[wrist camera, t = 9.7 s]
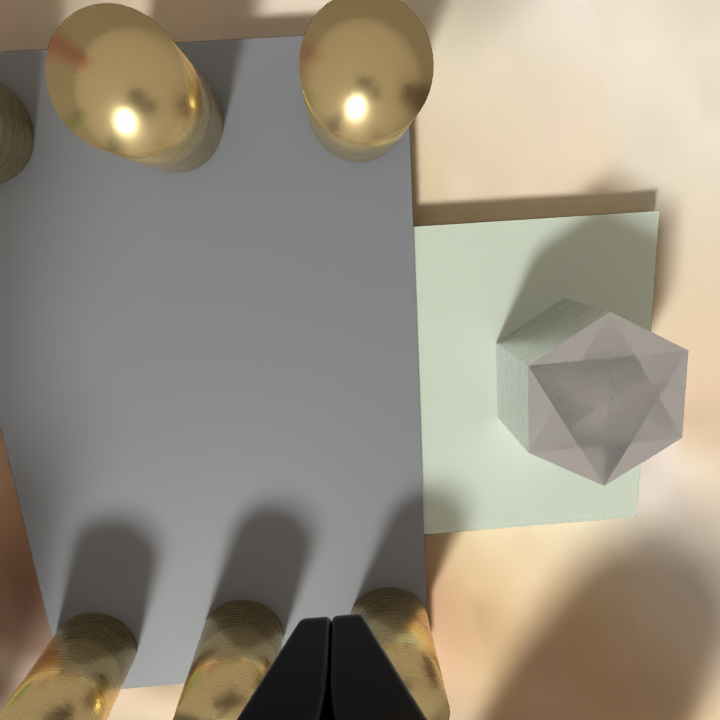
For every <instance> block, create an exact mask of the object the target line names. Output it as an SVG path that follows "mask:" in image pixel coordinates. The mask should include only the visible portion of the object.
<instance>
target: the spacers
mask: <svg viewBox="0 0 720 720" xmlns="http://www.w3.org/2000/svg"><path fill="white" fill-rule="evenodd" d="M299 75H300V81H301V86H302V90H303V95H304V99H305V103H306V108H307V112H308V117H309V121H310V124H311V127H312V130H313V132H314V134H315V136H316V138H317V139H318V141H319V142H320V143H321V144H322V146H323V147H324V148H325V149H326V150H328V151H329V152H330V153H331V154H333V155H335V156H336V157H338V158H341V159H343V160H347V161H351V162H367V161H371V160H374V159H377V158H379V157H381V156H383V155H384V154H386V153H387V152H389V151H390V150H391V149H392V148H393V147H394V146H395V145H396V143H397V142H398V141H399V139H400V138H401V137H402V135H403V134H404V132H405V131H406V130H407V128H408V127H409V125H410V124H411V123H412V121H413V120H414V118H415V117H416V115H417V114H418V113H419V111H420V110H421V108H422V106H423V105H424V103H425V101H426V99H427V96H428V94H429V91H430V87H431V84H432V78H433V53H432V48H431V44H430V41H429V38H428V35H427V33H426V31H425V29H424V26H423V25H422V23H421V22H420V20H419V19H418V17H417V16H416V15H415V14H414V13H413V11H412V10H411V9H409V8H408V7H407V6H406V5H405V4H404V3H402V2H401V1H399V0H332V1H330V2H329V3H327V4H326V5H325V6H324V7H323V8H322V9H321V10H320V11H319V12H318V13H317V14H316V15H315V16H314V18H313V19H312V21H311V22H310V24H309V26H308V28H307V30H306V32H305V34H304V37H303V40H302V43H301V48H300V54H299ZM45 76H46V84H47V88H48V92H49V96H50V98H51V101H52V104H53V106H54V108H55V110H56V112H57V113H58V115H59V116H60V118H61V119H62V121H63V122H64V123H65V125H66V126H67V127H68V128H69V129H70V130H71V131H72V132H73V133H74V134H75V135H76V136H77V137H79V138H80V139H81V140H83V141H84V142H86V143H87V144H89V145H91V146H93V147H95V148H97V149H100V150H102V151H105V152H108V153H111V154H114V155H117V156H120V157H123V158H125V159H128V160H131V161H134V162H137V163H140V164H143V165H146V166H148V167H151V168H154V169H157V170H160V171H164V172H168V173H184V172H189V171H192V170H194V169H197V168H199V167H200V166H202V165H204V164H205V163H206V162H207V161H208V160H209V159H210V158H211V157H212V156H213V154H214V153H215V151H216V150H217V148H218V146H219V144H220V141H221V138H222V133H223V113H222V108H221V105H220V102H219V99H218V97H217V95H216V93H215V92H214V90H213V88H212V87H211V86H210V84H209V83H208V82H207V81H206V80H205V78H204V77H203V76H202V75H201V74H200V72H199V71H198V70H197V69H196V68H195V67H194V65H193V64H192V63H191V62H190V61H189V60H188V58H187V57H186V56H185V55H184V54H183V52H182V51H181V50H180V49H179V48H178V47H177V45H176V44H175V43H174V42H173V41H172V40H171V38H170V37H169V36H168V35H167V34H166V32H165V31H164V30H163V29H162V28H161V27H160V26H159V25H158V24H157V23H156V22H154V21H153V20H152V19H151V18H149V17H148V16H146V15H145V14H143V13H141V12H139V11H137V10H135V9H133V8H130V7H127V6H124V5H119V4H111V3H102V4H94V5H91V6H87V7H85V8H82V9H80V10H78V11H76V12H75V13H73V14H72V15H70V16H69V17H68V18H67V19H66V20H65V21H64V22H63V23H62V24H61V25H60V26H59V28H58V29H57V30H56V32H55V34H54V35H53V37H52V40H51V42H50V44H49V47H48V51H47V55H46V63H45ZM33 148H34V129H33V124H32V120H31V118H30V115H29V113H28V111H27V109H26V107H25V105H24V104H23V102H22V101H21V99H20V98H19V97H18V96H17V95H16V94H15V93H14V92H13V91H12V90H11V89H10V88H9V87H8V86H6V85H5V84H3V83H2V82H0V183H3V182H6V181H9V180H11V179H13V178H14V177H16V176H17V175H18V174H20V173H21V172H22V171H23V169H24V168H25V167H26V166H27V164H28V162H29V160H30V158H31V156H32V152H33ZM350 614H361V615H362V616H363V617H364V618H365V620H366V621H367V623H368V624H369V626H370V628H371V629H372V631H373V633H374V634H375V636H376V637H377V639H378V641H379V642H380V644H381V645H382V647H383V649H384V650H385V652H386V654H387V655H388V657H389V658H390V660H391V662H392V663H393V665H394V666H395V668H396V670H397V671H398V673H399V674H400V676H401V678H402V679H403V681H404V683H405V684H406V686H407V687H408V689H409V691H410V692H411V694H412V695H413V697H414V699H415V700H416V702H417V704H418V705H419V707H420V708H421V710H422V712H423V713H424V715H425V716H426V718H427V720H449V717H450V709H449V703H448V699H447V695H446V691H445V687H444V683H443V679H442V674H441V670H440V666H439V662H438V658H437V654H436V650H435V645H434V641H433V637H432V633H431V629H430V625H429V621H428V616H427V612H426V609H425V607H424V605H423V603H422V602H421V600H420V599H419V598H418V597H417V596H415V595H414V594H413V593H411V592H409V591H407V590H404V589H401V588H395V587H385V588H379V589H376V590H373V591H371V592H369V593H367V594H365V595H364V596H362V597H361V598H360V599H359V600H358V601H357V602H356V604H355V605H354V607H353V608H352V610H351V613H350ZM282 641H283V627H282V624H281V621H280V620H279V618H278V616H277V615H276V614H275V613H274V612H273V611H272V610H271V609H270V608H268V607H267V606H265V605H263V604H261V603H258V602H255V601H250V600H235V601H231V602H227V603H225V604H223V605H221V606H219V607H217V608H216V609H215V610H214V611H213V612H212V613H211V614H210V615H209V616H208V618H207V620H206V622H205V624H204V627H203V630H202V633H201V636H200V639H199V642H198V645H197V648H196V651H195V654H194V657H193V660H192V663H191V666H190V669H189V672H188V676H187V679H186V682H185V685H184V688H183V691H182V694H181V697H180V700H179V703H178V706H177V709H176V712H175V715H174V718H173V720H237V718H238V717H239V715H240V714H241V712H242V711H243V709H244V707H245V706H246V704H247V703H248V701H249V700H250V698H251V696H252V695H253V693H254V692H255V690H256V689H257V687H258V685H259V684H260V682H261V681H262V679H263V678H264V676H265V674H266V673H267V671H268V670H269V668H270V667H271V665H272V663H273V662H274V660H275V659H276V657H277V656H278V654H279V652H280V651H281V649H282ZM136 653H137V644H136V640H135V637H134V635H133V634H132V632H131V630H130V629H129V628H128V627H127V626H126V625H125V624H124V623H122V622H121V621H120V620H118V619H116V618H114V617H112V616H109V615H106V614H101V613H84V614H80V615H77V616H74V617H72V618H70V619H69V620H67V621H66V622H65V623H64V624H63V625H62V626H61V627H60V628H59V630H58V631H57V633H56V634H55V635H54V637H53V638H52V640H51V641H50V643H49V644H48V646H47V647H46V648H45V650H44V651H43V653H42V654H41V656H40V657H39V659H38V660H37V661H36V663H35V664H34V666H33V667H32V669H31V670H30V671H29V673H28V674H27V676H26V677H25V679H24V680H23V682H22V683H21V684H20V686H19V687H18V689H17V690H16V692H15V693H14V695H13V696H12V697H11V699H10V700H9V702H8V703H7V705H6V706H5V708H4V709H3V710H2V712H1V713H0V720H107V718H108V716H109V714H110V712H111V709H112V707H113V705H114V703H115V701H116V699H117V697H118V694H119V692H120V690H121V688H122V686H123V684H124V682H125V679H126V677H127V675H128V673H129V671H130V669H131V667H132V664H133V662H134V660H135V657H136Z"/></svg>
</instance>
